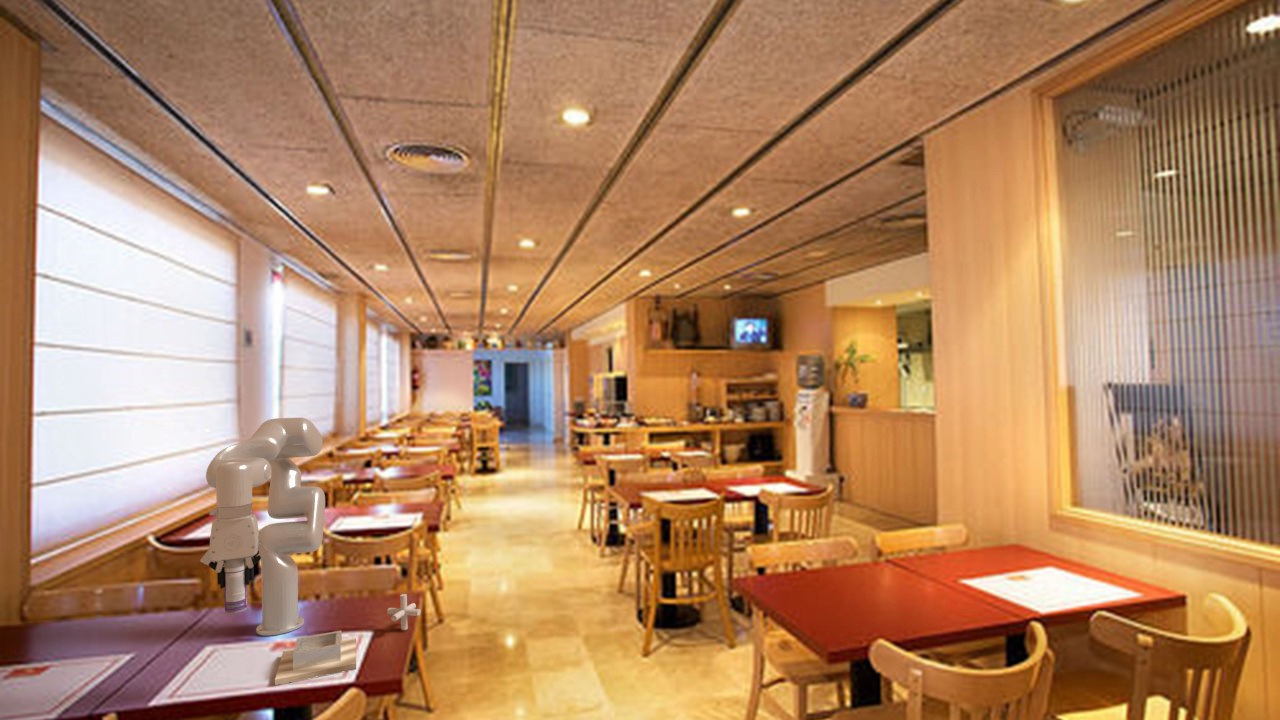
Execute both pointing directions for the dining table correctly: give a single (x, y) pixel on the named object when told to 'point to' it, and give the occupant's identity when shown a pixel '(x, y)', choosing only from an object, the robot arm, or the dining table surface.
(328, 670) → the birch board
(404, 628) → the pipe connector
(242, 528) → the robot arm
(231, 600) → the container
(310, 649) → the duct collar
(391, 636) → the dining table surface
